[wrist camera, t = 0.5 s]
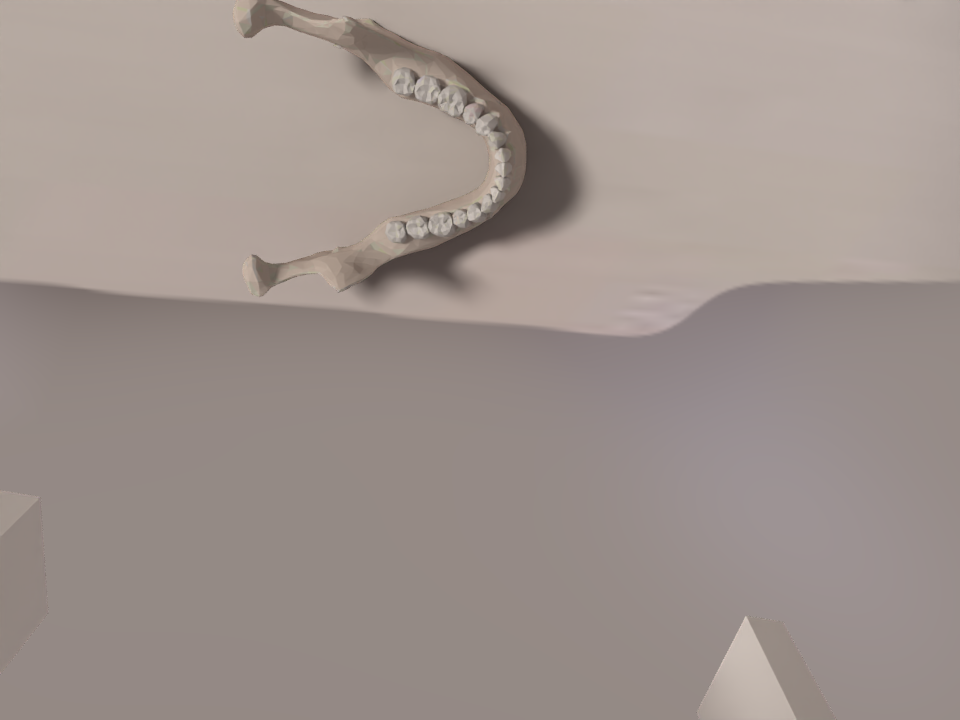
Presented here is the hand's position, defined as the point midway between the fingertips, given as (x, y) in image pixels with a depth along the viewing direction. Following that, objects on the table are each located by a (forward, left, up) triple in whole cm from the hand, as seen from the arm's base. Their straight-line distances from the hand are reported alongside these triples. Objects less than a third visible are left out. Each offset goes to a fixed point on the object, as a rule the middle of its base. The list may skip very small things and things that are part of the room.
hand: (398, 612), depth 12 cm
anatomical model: (-6, -2, -26) cm, 27 cm away
